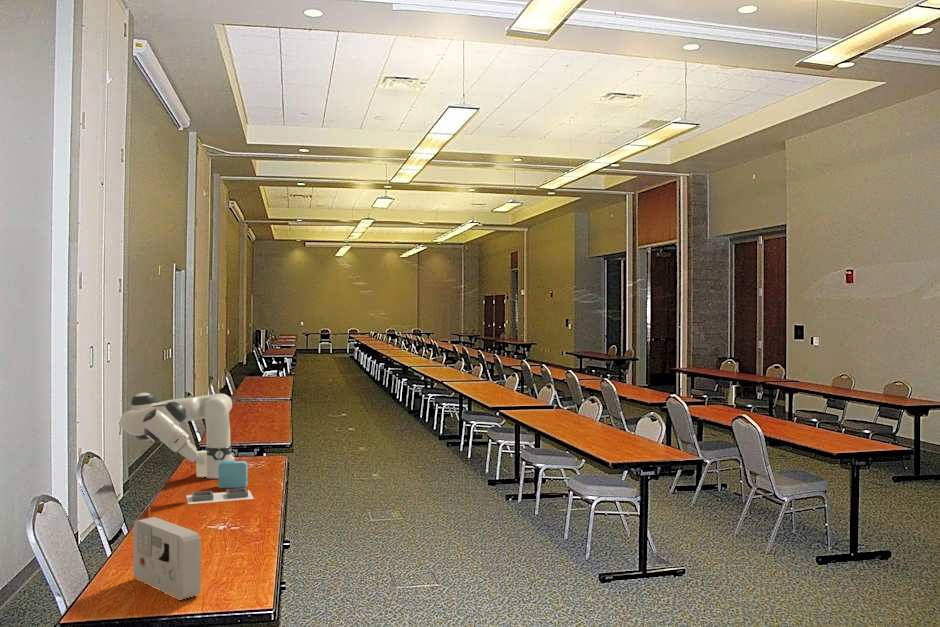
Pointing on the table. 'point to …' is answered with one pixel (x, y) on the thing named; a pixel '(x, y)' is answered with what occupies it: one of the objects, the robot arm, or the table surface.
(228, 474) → the data package
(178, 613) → the table surface
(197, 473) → the plug block
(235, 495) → the dock
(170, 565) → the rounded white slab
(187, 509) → the table surface
